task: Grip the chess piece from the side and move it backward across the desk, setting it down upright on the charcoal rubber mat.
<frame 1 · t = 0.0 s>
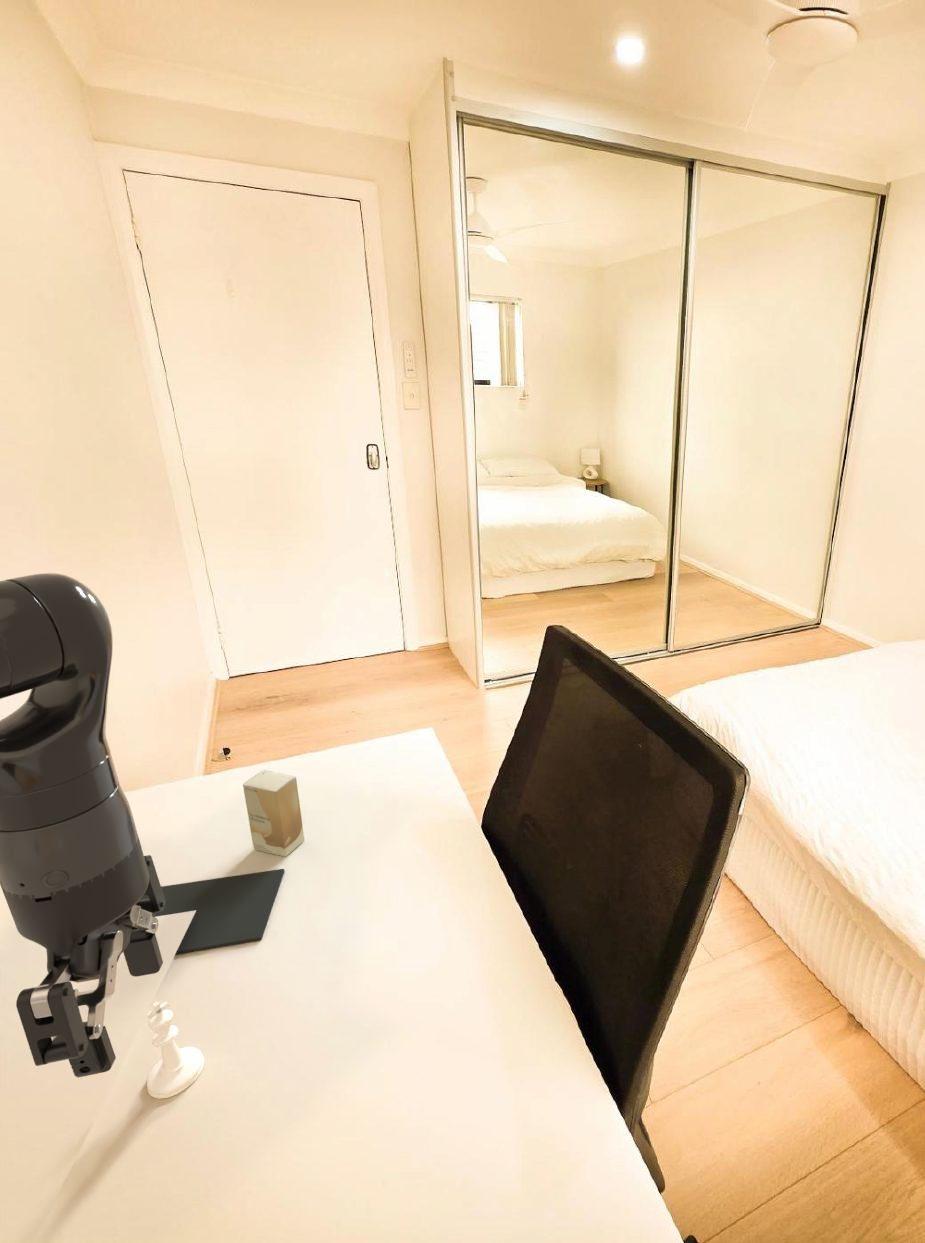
hand: (124, 1017, 49), 20 cm above the table, tool pointing down, fingers open, 8 cm apart
cosmetic box: (280, 846, 97), on the table
mat: (192, 916, 83), on the table
chess piece: (176, 1075, 64), on the table
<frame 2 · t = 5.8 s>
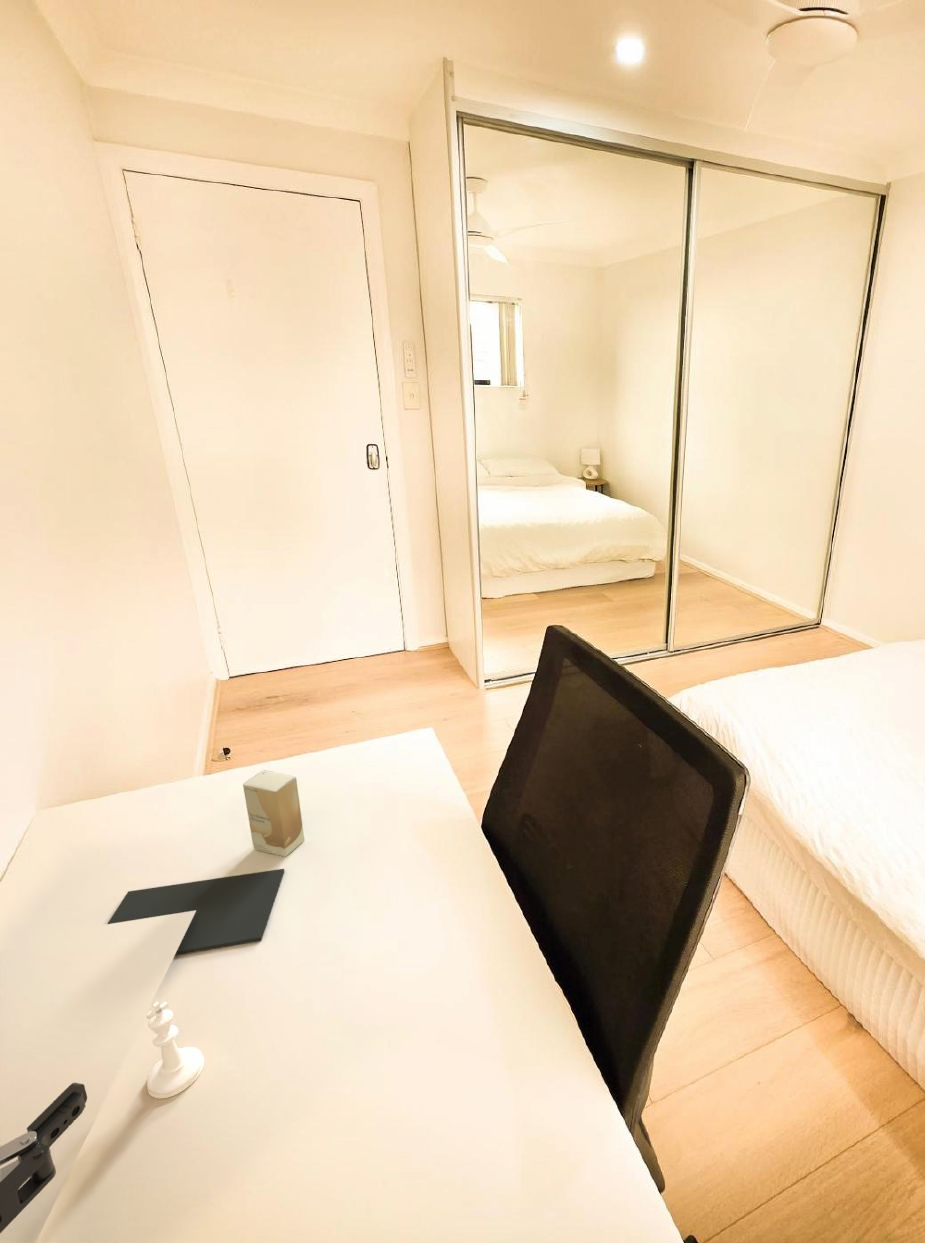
hand: (35, 1081, 50), 14 cm above the table, tool horizontal, fingers open, 8 cm apart
nothing on the table moved.
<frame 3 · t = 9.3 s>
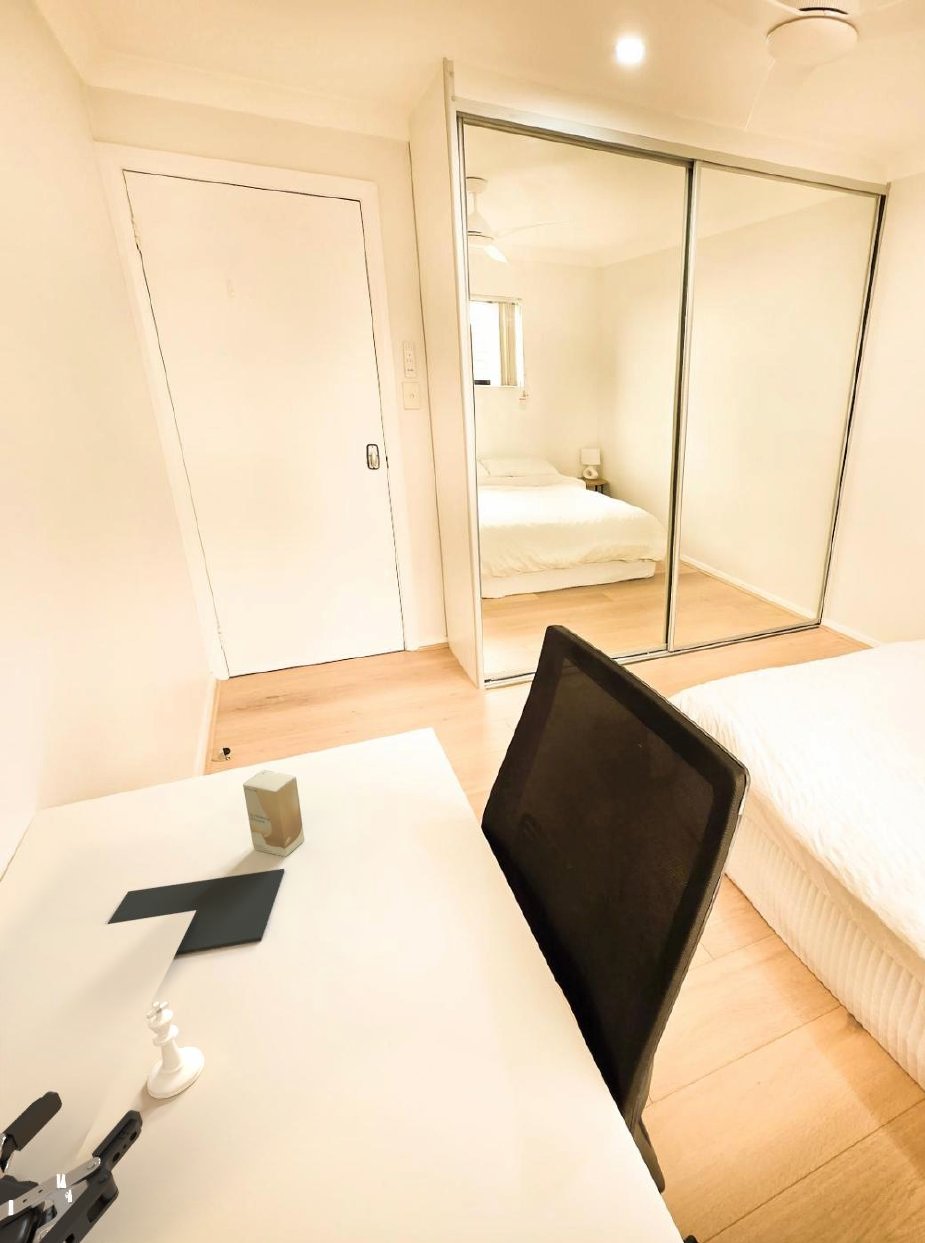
hand: (97, 1106, 56), 6 cm above the table, tool horizontal, fingers open, 8 cm apart
nothing on the table moved.
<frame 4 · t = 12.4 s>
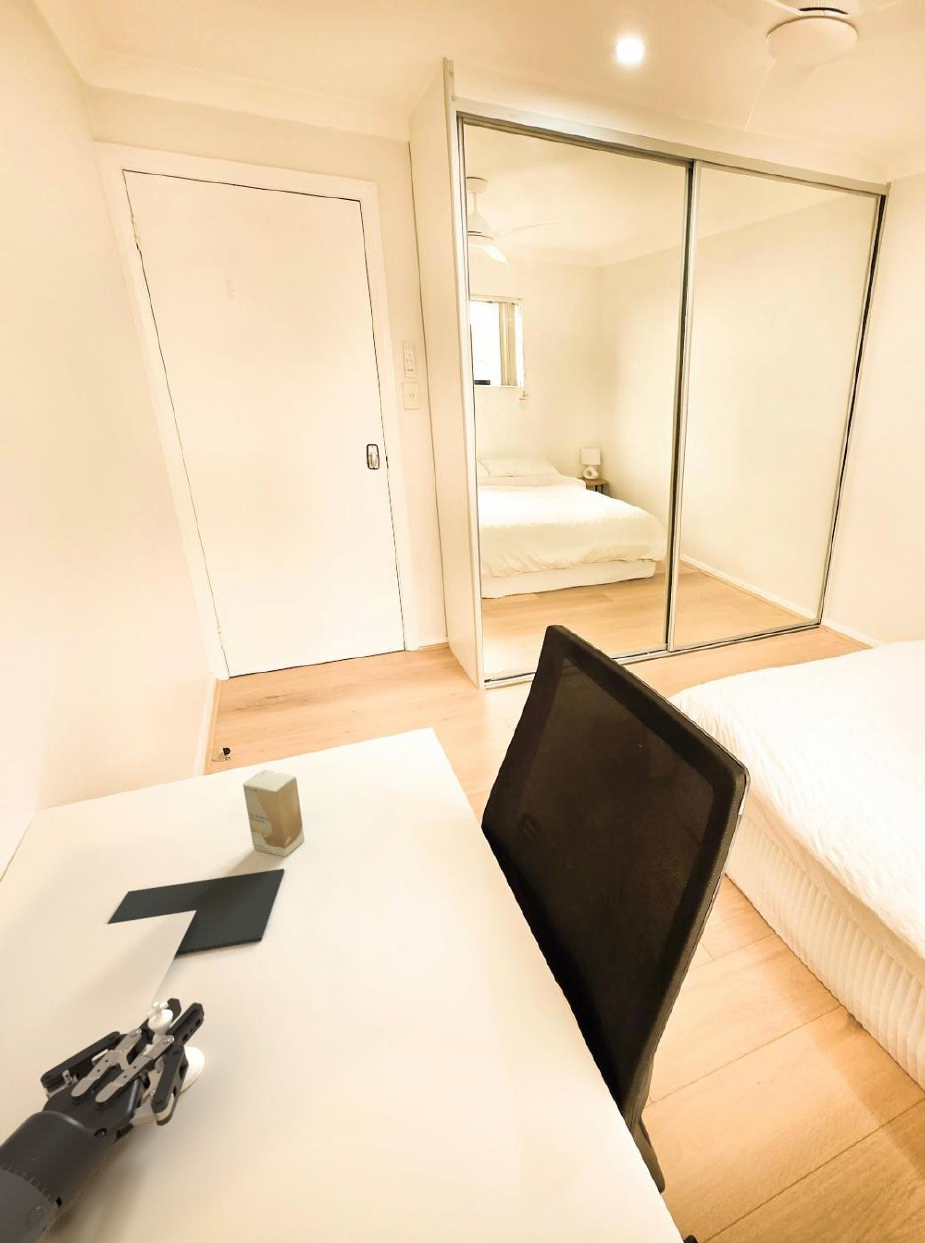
hand: (188, 1006, 65), 6 cm above the table, tool horizontal, fingers closed on chess piece
chess piece: (177, 1075, 64), on the table, touching gripper
everything else where it was.
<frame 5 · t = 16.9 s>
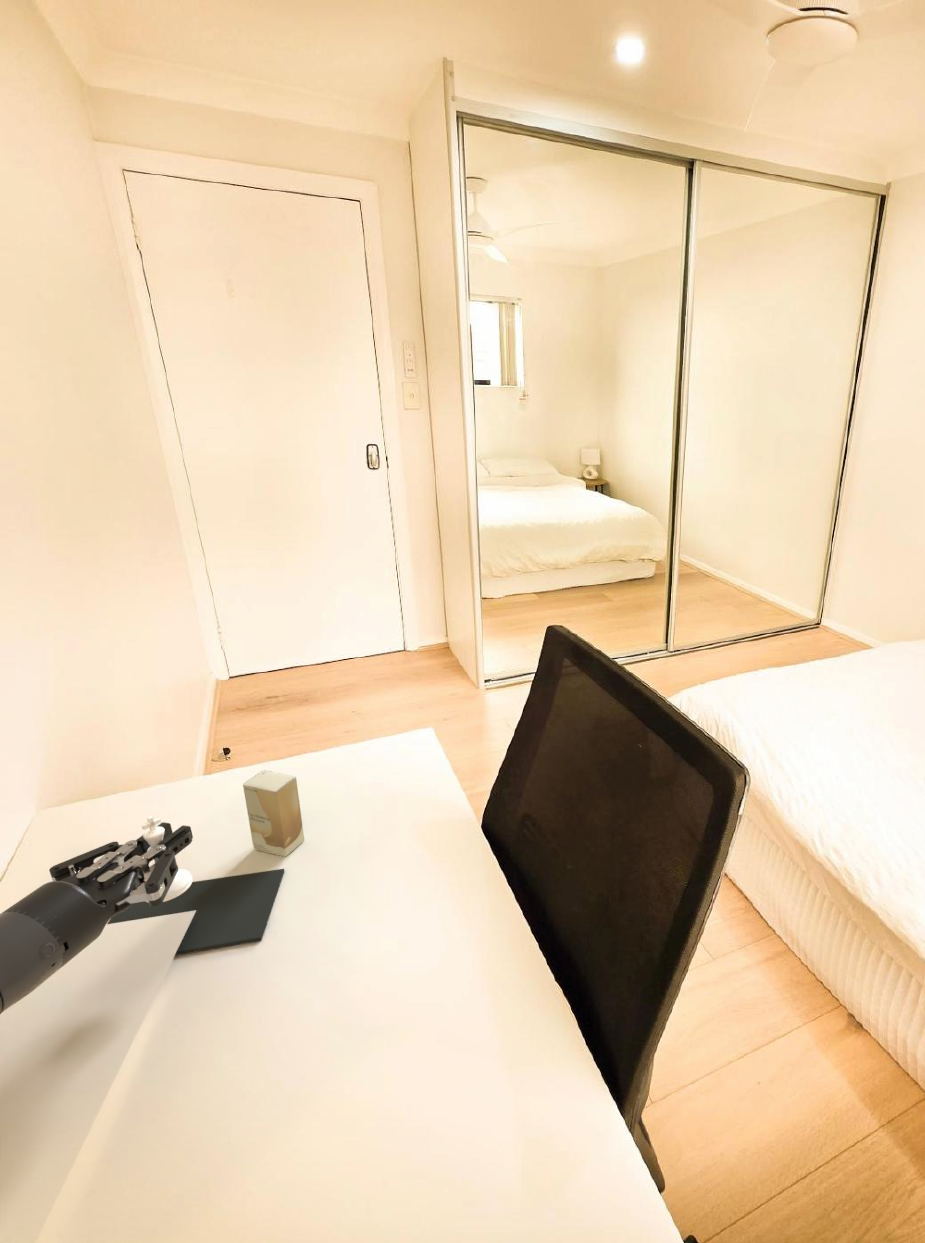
hand: (178, 830, 74), 18 cm above the table, tool horizontal, fingers closed on chess piece
chess piece: (168, 889, 73), point 12 cm above the table, touching gripper
everything else where it was.
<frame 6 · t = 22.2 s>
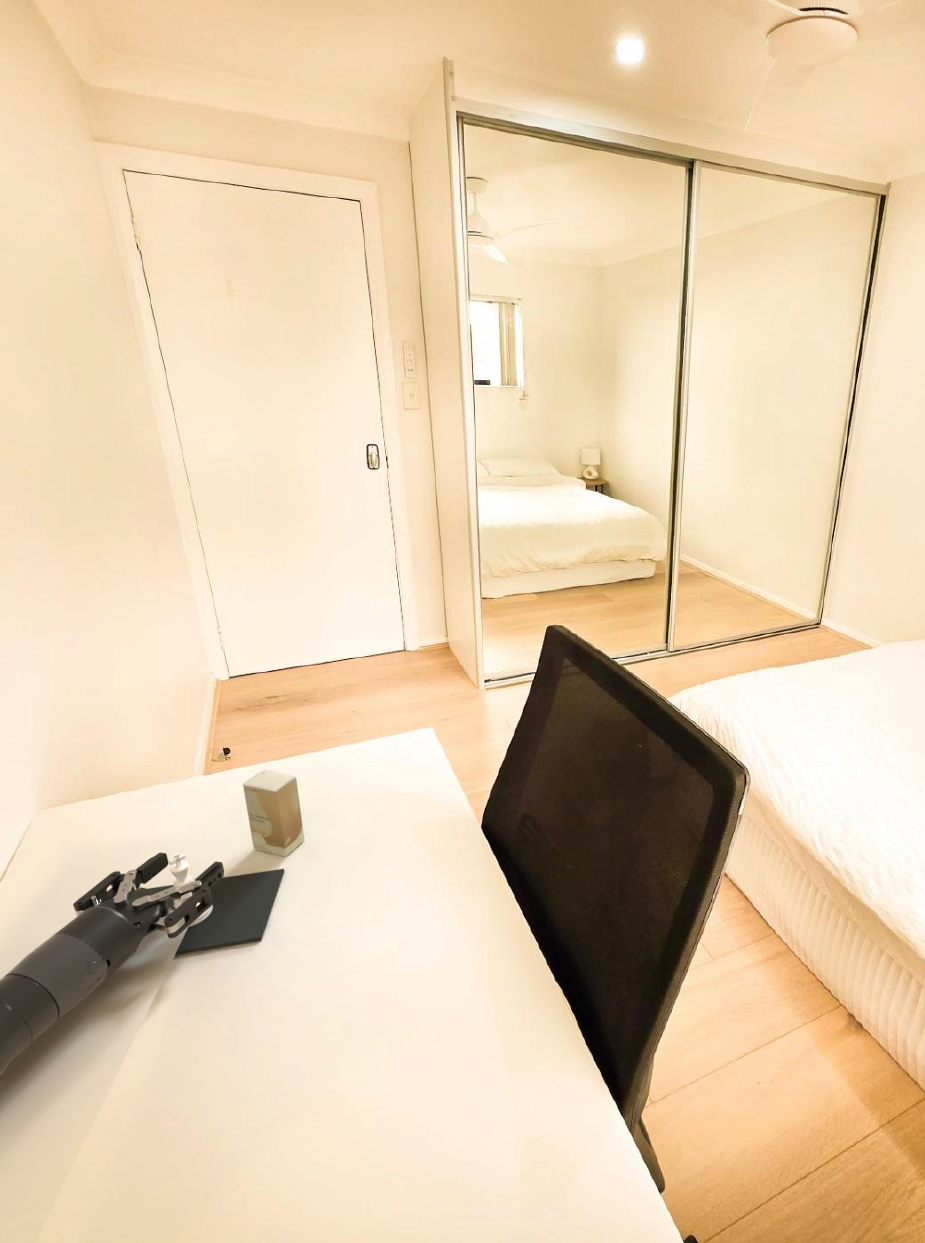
hand: (193, 862, 83), 8 cm above the table, tool horizontal, fingers open, 8 cm apart
chess piece: (191, 915, 83), resting on mat
everything else where it was.
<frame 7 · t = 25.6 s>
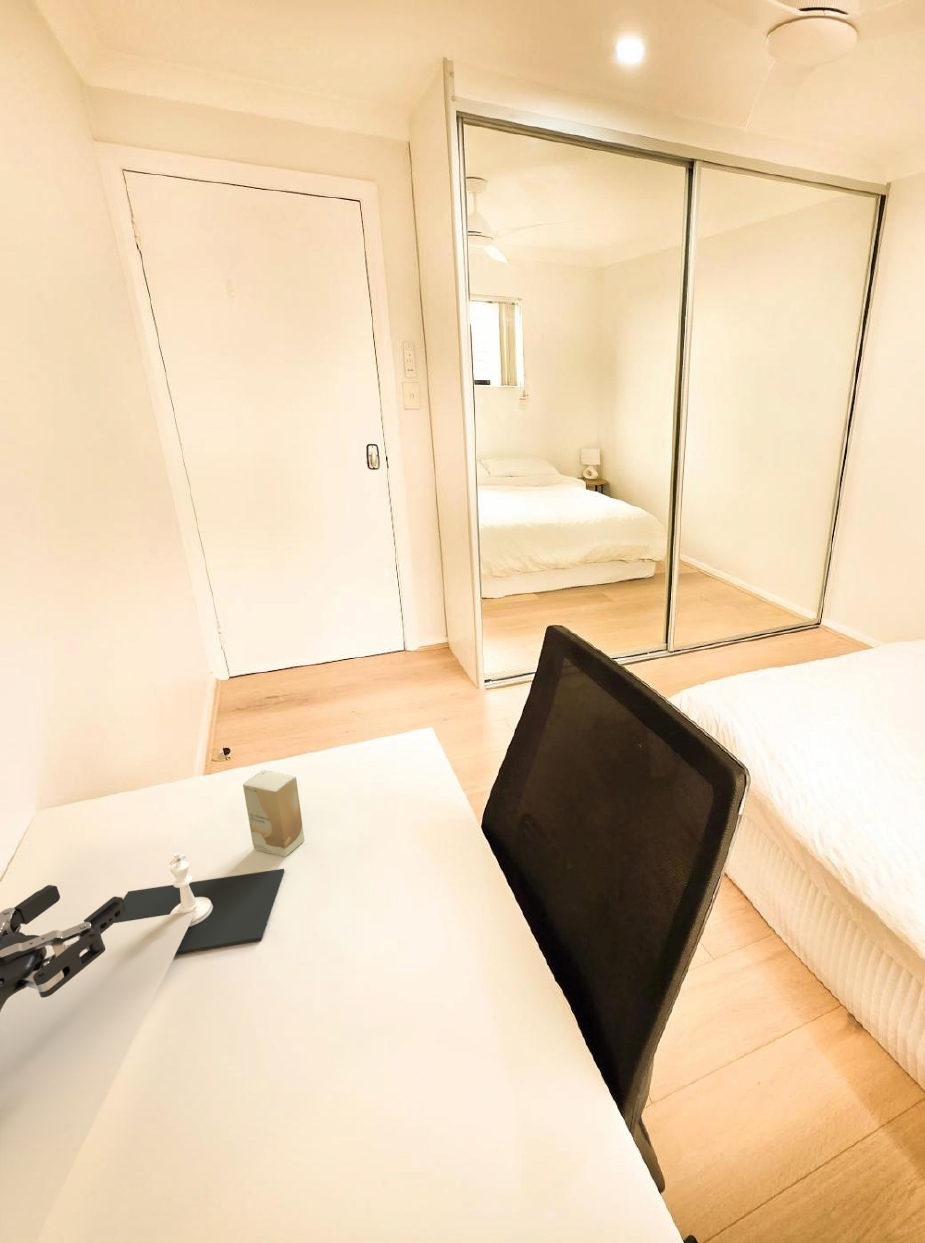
hand: (88, 896, 69), 14 cm above the table, tool horizontal, fingers open, 8 cm apart
nothing on the table moved.
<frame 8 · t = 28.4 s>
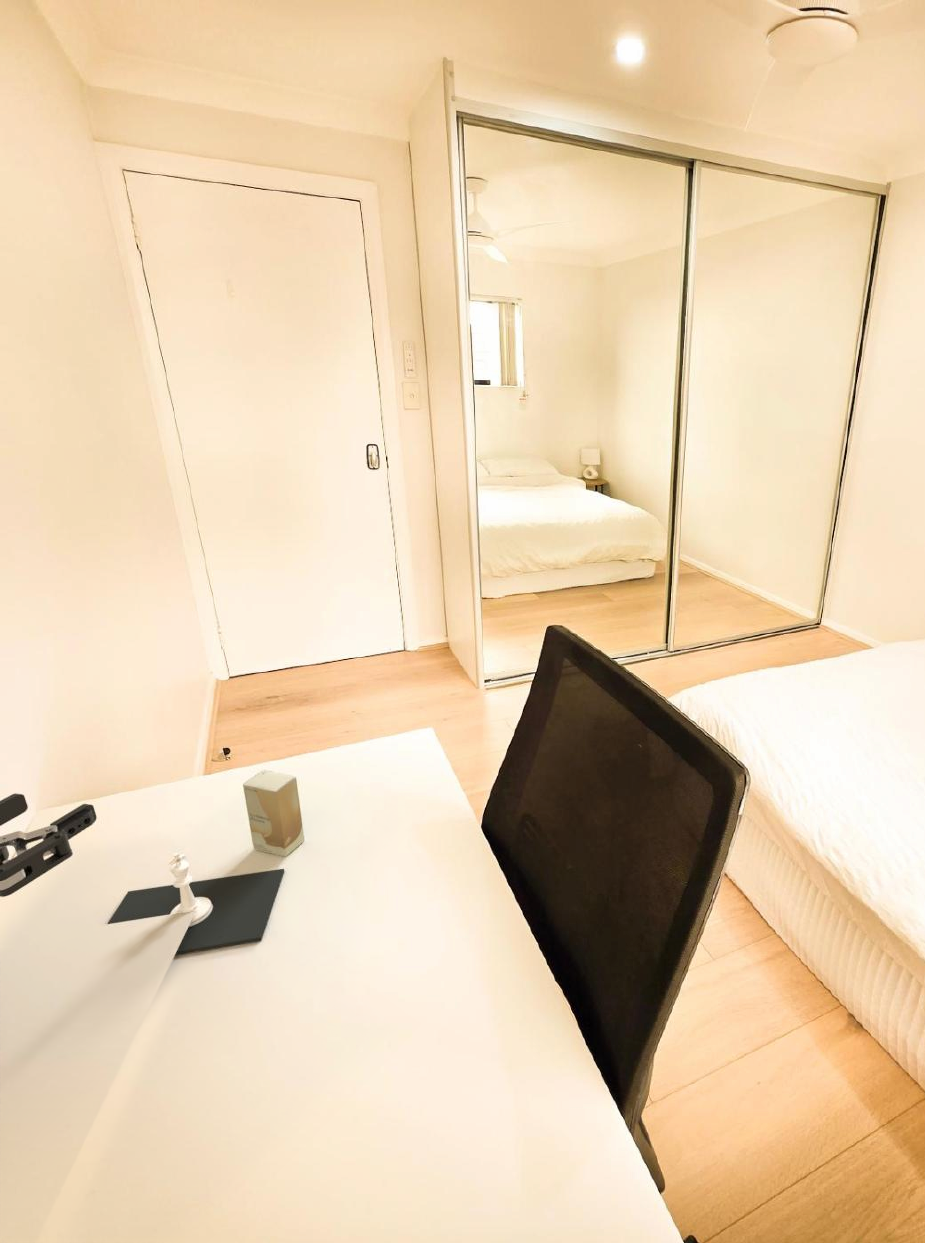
hand: (57, 805, 64), 26 cm above the table, tool horizontal, fingers open, 8 cm apart
nothing on the table moved.
at the end: chess piece inside the target area on the mat (0.2 cm from its centre), point 0.4 cm above the mat's base; chess piece tilted 0°; the gripper is holding nothing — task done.
